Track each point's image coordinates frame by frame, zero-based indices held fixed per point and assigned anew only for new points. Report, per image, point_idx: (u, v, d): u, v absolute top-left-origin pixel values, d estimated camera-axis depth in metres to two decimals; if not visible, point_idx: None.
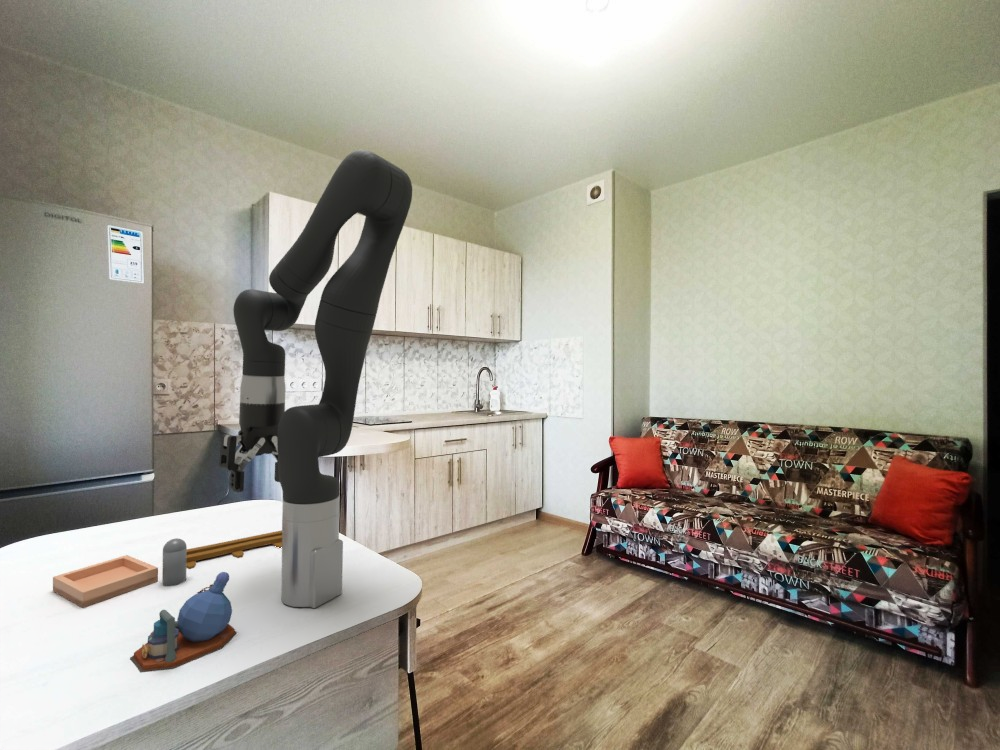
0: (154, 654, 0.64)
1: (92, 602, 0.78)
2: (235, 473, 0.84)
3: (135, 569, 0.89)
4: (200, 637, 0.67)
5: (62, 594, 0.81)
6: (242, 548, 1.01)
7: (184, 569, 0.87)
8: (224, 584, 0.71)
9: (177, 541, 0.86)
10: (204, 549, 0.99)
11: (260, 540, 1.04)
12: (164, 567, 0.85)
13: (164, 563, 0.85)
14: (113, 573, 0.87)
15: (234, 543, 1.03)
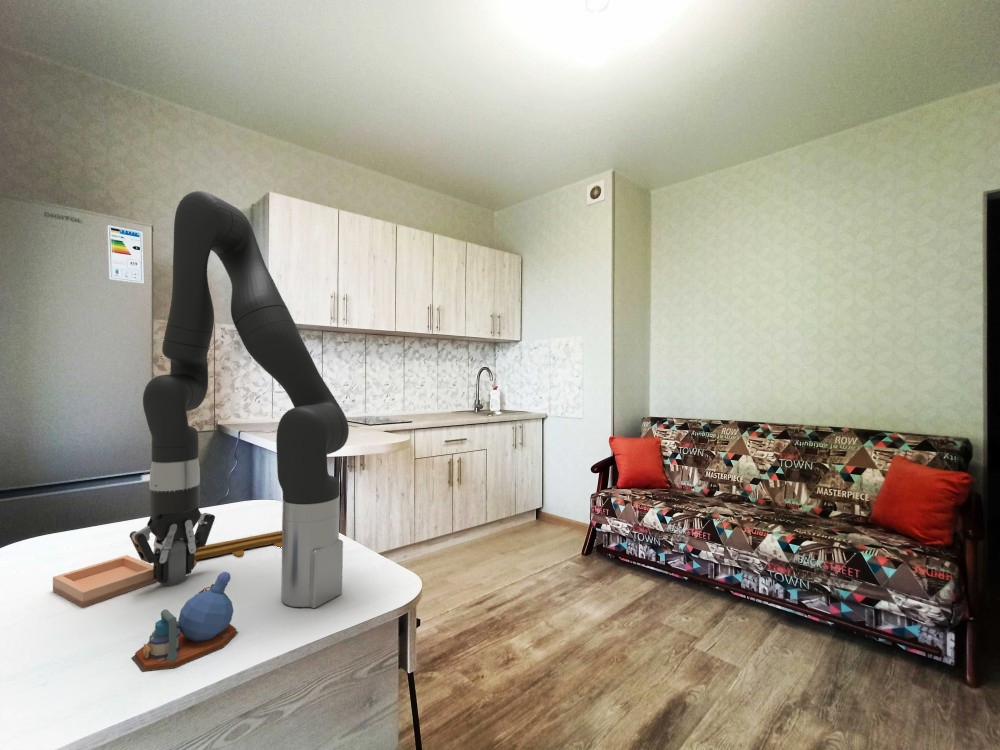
0: (156, 654, 0.64)
1: (92, 602, 0.78)
2: (157, 564, 0.84)
3: (135, 569, 0.89)
4: (201, 637, 0.67)
5: (62, 594, 0.81)
6: (243, 548, 1.01)
7: (184, 569, 0.87)
8: (225, 584, 0.71)
9: (177, 541, 0.86)
10: (205, 548, 0.99)
11: (261, 540, 1.04)
12: None
13: None
14: (113, 573, 0.87)
15: (235, 543, 1.03)
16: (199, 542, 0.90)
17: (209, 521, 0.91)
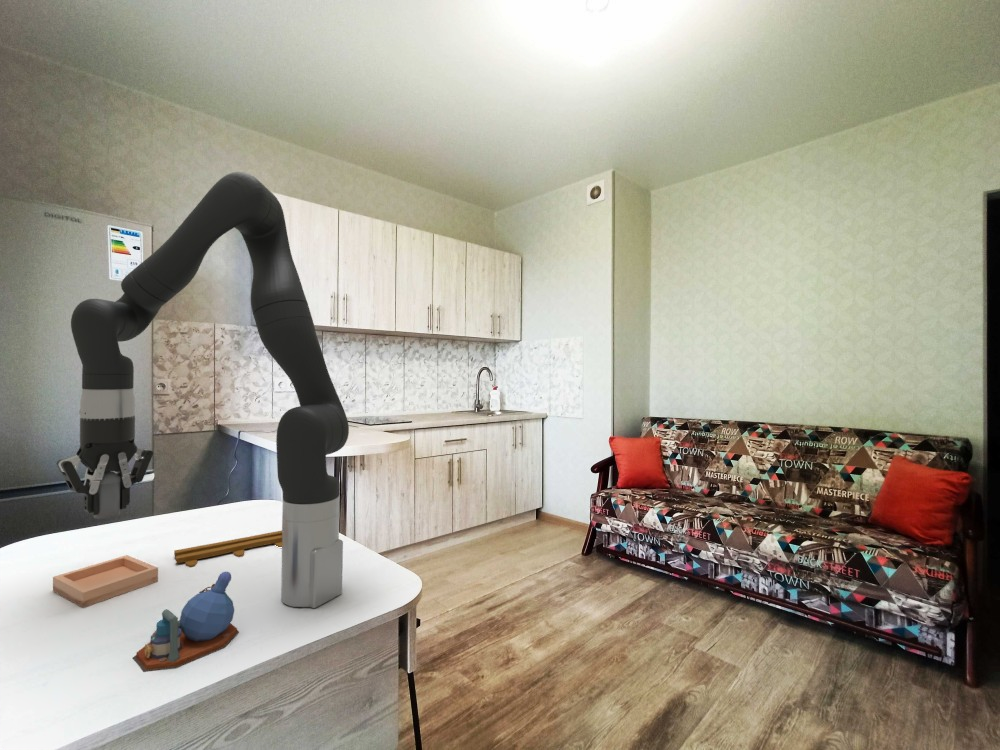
0: (157, 654, 0.64)
1: (92, 602, 0.78)
2: (87, 495, 0.81)
3: (135, 569, 0.89)
4: (203, 636, 0.67)
5: (62, 594, 0.81)
6: (243, 547, 1.01)
7: (117, 503, 0.84)
8: (226, 584, 0.71)
9: (109, 473, 0.84)
10: (206, 548, 1.00)
11: (262, 539, 1.04)
12: None
13: None
14: (113, 573, 0.87)
15: (236, 542, 1.03)
16: (135, 477, 0.87)
17: (146, 456, 0.88)
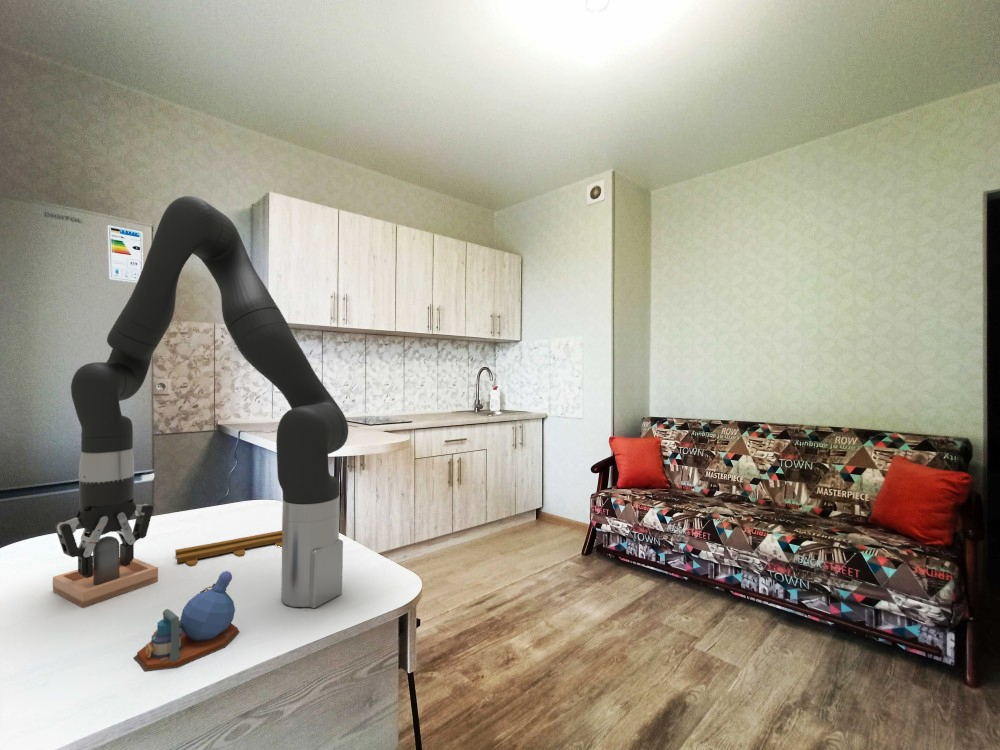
0: (158, 653, 0.64)
1: (92, 602, 0.78)
2: (82, 558, 0.81)
3: (135, 569, 0.89)
4: (204, 636, 0.67)
5: (62, 594, 0.81)
6: (244, 547, 1.02)
7: (116, 568, 0.84)
8: (227, 583, 0.71)
9: (108, 539, 0.84)
10: (207, 547, 1.00)
11: (262, 539, 1.05)
12: (94, 566, 0.83)
13: (94, 562, 0.83)
14: None
15: (237, 542, 1.03)
16: (138, 534, 0.88)
17: (147, 512, 0.89)
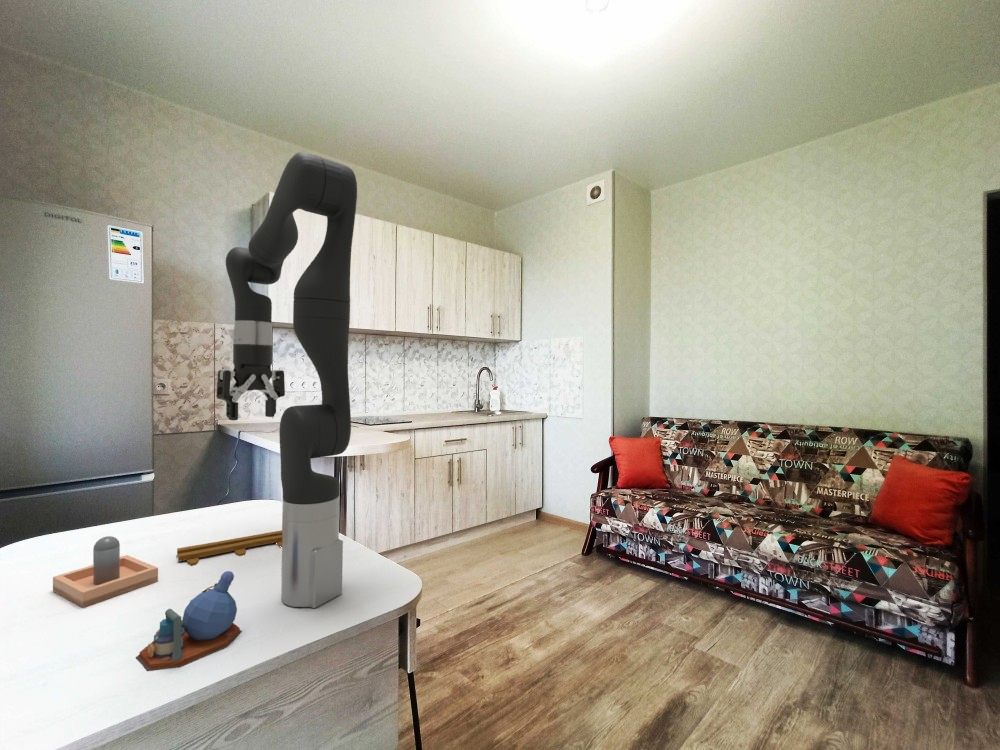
0: (160, 653, 0.64)
1: (92, 602, 0.78)
2: (230, 403, 0.98)
3: (135, 569, 0.89)
4: (206, 636, 0.67)
5: (62, 594, 0.81)
6: (245, 546, 1.02)
7: (116, 568, 0.84)
8: (229, 583, 0.71)
9: (109, 539, 0.84)
10: (208, 546, 1.00)
11: (263, 539, 1.05)
12: (94, 565, 0.83)
13: (94, 562, 0.83)
14: None
15: (238, 541, 1.04)
16: (279, 393, 1.07)
17: (280, 376, 1.07)
